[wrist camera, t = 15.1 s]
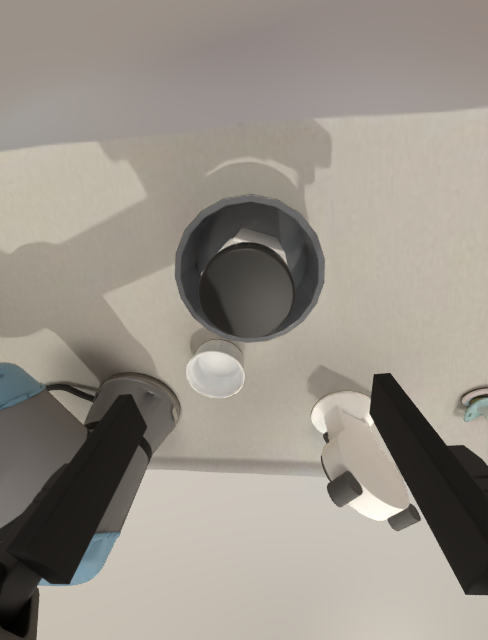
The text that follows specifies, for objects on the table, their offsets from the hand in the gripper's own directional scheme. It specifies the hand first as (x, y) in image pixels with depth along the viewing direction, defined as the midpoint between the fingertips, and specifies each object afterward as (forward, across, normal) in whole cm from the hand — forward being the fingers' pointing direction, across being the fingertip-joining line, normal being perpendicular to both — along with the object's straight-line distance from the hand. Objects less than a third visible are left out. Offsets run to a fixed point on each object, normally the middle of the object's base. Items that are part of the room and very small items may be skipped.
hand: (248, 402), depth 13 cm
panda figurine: (+21, +12, -26) cm, 36 cm away
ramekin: (+21, -7, -12) cm, 26 cm away
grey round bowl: (+21, 0, +3) cm, 21 cm away
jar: (+21, 0, +3) cm, 21 cm away
